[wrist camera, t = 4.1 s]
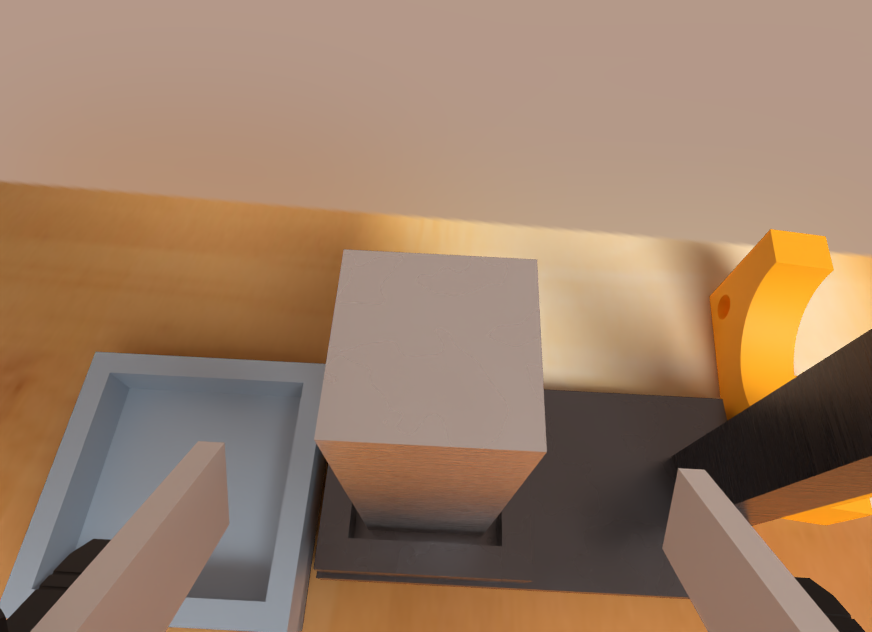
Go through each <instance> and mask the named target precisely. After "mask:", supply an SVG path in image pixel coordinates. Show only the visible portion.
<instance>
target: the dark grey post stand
mask: <svg viewBox="0 0 872 632" xmlns="http://www.w3.org/2000/svg"><path fill="white" fill-rule="evenodd" d="M544 406H545V426H546V445H547V453H546V454H545V455H544V456H543V458H542V459H541V460H540V462H539V463H538V464H537V466H536V467H535V468H534V469H533V471H532V472H531V473H530V475H529V476H528V477H527V479H526V480H525V481H524V482H523V484H522V485H521V486H520V488H519V489H518V490H517V492H516V493H515V494H514V495H513V497H512V498H511V499H510V501H509V502H508V503H507V505H506V506H505V507H504V508H503V510H502V511H501V512H500V514H499V515H498V516H497V518H496V519H495V520H494V521H493V523H492V524H491V525H490V527H489V528H488V529H487V531H486V532H485V533H484V534H483V536H475V535H456V534H437V533H418V532H399V531H381V530H368V528H367V526H366V525H365V523H364V521H363V520H362V518H361V516H360V515H359V513H358V512H357V510H356V508H355V507H354V505H353V503H352V502H351V500H350V498H349V497H348V495H347V493H346V492H345V490H344V488H343V487H342V485H341V483H340V482H339V480H338V479H337V477H336V475H335V474H334V472H333V470H332V469H331V467H330V465H329V464H328V470H327V477H326V484H325V491H324V498H323V505H322V512H321V520H320V527H319V534H318V541H317V548H316V555H315V562H314V570H316V571H317V576H316V578H318V579H321V580H340V581H358V582H377V583H396V584H415V585H434V586H453V587H471V588H490V589H509V590H528V591H547V592H566V593H584V594H603V595H622V596H641V597H660V598H679V599H690V598H689V596H688V594H687V593H686V591H685V589H684V587H683V585H682V584H681V582H680V580H679V578H678V576H677V574H676V573H675V571H674V569H673V567H672V565H671V564H670V562H669V560H668V558H667V556H666V555H665V553H664V551H663V549H662V547H663V542H664V537H665V532H666V527H667V522H668V517H669V512H670V507H671V502H672V497H673V492H674V487H675V482H676V477H677V472H678V468H683V469H701V470H705V471H706V472H707V473H708V474H709V475H710V477H711V478H712V479H713V480H714V482H715V483H716V484H717V485H718V486H719V488H720V489H721V490H722V491H723V492H724V494H725V495H726V496H727V497H728V498H729V500H730V501H731V502H732V503H733V504H734V506H735V507H736V508H737V509H738V510H739V512H740V513H741V514H742V515H743V516H744V518H745V519H746V520H747V521H748V522H749V524H750V525H751V526H753V525H757V524H760V523H764V522H768V521H771V520H775V519H779V518H782V517H786V516H790V515H793V514H797V513H801V512H804V511H808V510H812V509H815V508H819V507H823V506H826V505H830V504H834V503H837V502H841V501H845V500H848V499H852V498H856V497H859V496H863V495H867V494H870V493H872V329H871V330H869V331H868V332H866V333H864V334H863V335H861V336H860V337H858V338H857V339H855V340H853V341H852V342H850V343H849V344H847V345H846V346H844V347H842V348H841V349H839V350H838V351H836V352H835V353H833V354H831V355H830V356H828V357H827V358H825V359H824V360H822V361H820V362H819V363H817V364H816V365H814V366H813V367H811V368H809V369H808V370H806V371H805V372H803V373H802V374H800V375H798V376H797V377H795V378H794V379H792V380H791V381H789V382H787V383H786V384H784V385H783V386H781V387H780V388H778V389H777V390H775V391H773V392H772V393H770V394H769V395H767V396H766V397H764V398H762V399H761V400H759V401H758V402H756V403H755V404H753V405H751V406H750V407H748V408H747V409H745V410H744V411H742V412H740V413H739V414H737V415H736V416H734V417H733V418H731V419H729V420H728V421H727V417H726V412H725V408H724V403H723V399H712V398H693V397H674V396H655V395H636V394H617V393H598V392H579V391H560V390H544Z"/></svg>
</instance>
